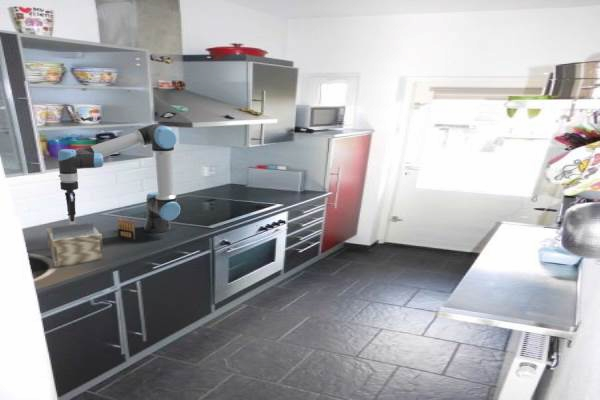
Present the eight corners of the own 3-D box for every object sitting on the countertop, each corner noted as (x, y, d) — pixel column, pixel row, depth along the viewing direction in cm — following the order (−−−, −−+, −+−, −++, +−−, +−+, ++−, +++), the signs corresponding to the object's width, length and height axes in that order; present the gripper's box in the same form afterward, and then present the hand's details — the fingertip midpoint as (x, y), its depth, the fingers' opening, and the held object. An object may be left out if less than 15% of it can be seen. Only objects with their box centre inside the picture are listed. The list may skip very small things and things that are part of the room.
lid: (95, 229, 206) (95, 221, 205) (100, 236, 197) (100, 229, 196) (49, 235, 194) (48, 227, 193) (52, 243, 184) (52, 235, 183)
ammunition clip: (118, 237, 228) (117, 217, 225) (120, 236, 230) (119, 216, 227) (133, 240, 226) (133, 220, 222) (135, 239, 227) (135, 219, 224)
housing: (92, 241, 218) (90, 218, 215) (103, 259, 197) (101, 234, 194) (48, 248, 206) (46, 223, 203) (55, 268, 185) (53, 241, 182)
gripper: (58, 178, 197) (62, 223, 203) (62, 184, 187) (65, 231, 193) (75, 178, 201) (78, 222, 207) (80, 183, 191) (83, 229, 197)
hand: (72, 226), depth 200 cm, fingers closed
